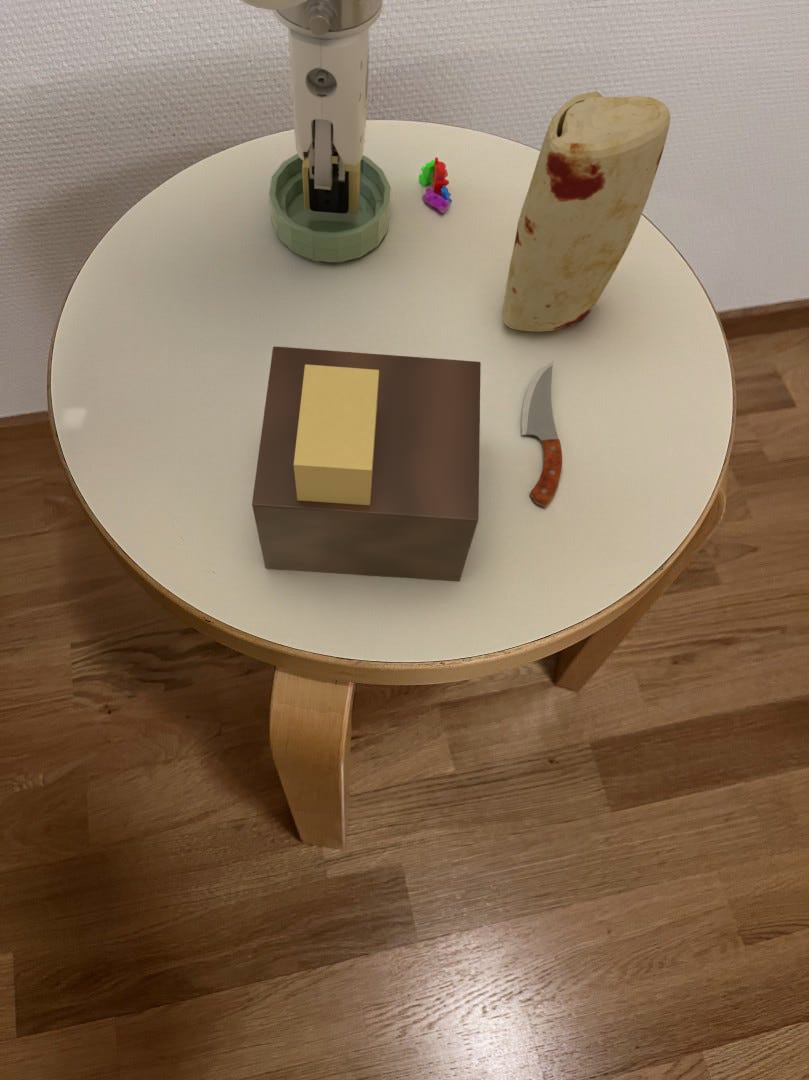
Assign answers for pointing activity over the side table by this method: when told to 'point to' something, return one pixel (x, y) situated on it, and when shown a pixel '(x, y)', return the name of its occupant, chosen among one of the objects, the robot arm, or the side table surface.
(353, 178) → the butter slice
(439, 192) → the multicolored plastic block cluster
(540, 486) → the knife
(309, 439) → the butter
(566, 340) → the side table surface
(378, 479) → the chopping block
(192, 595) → the side table surface
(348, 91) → the robot arm
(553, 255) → the food model
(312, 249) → the dish
